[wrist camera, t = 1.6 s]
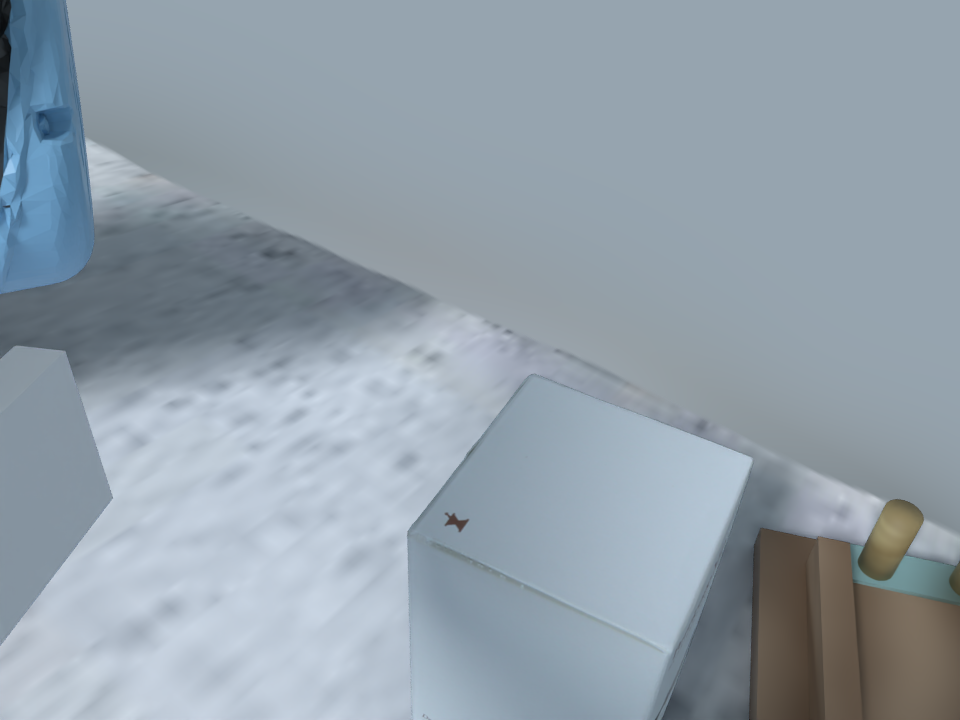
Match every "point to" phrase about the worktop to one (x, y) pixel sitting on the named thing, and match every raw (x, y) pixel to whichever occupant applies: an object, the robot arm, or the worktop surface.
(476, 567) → the supplement box
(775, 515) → the worktop surface
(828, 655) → the brown shallow tray
